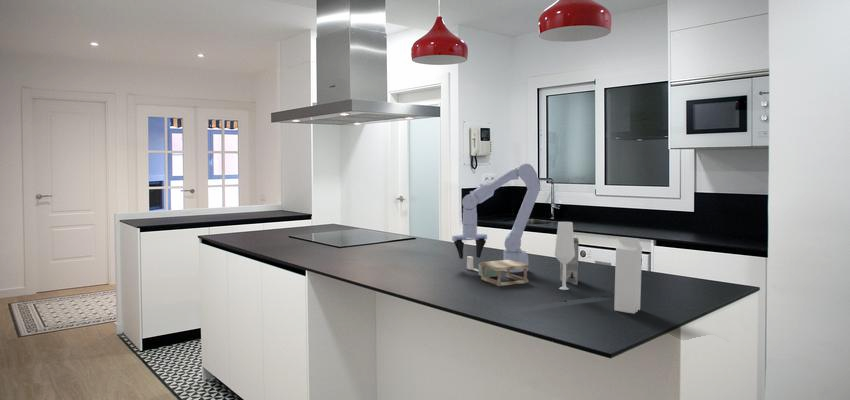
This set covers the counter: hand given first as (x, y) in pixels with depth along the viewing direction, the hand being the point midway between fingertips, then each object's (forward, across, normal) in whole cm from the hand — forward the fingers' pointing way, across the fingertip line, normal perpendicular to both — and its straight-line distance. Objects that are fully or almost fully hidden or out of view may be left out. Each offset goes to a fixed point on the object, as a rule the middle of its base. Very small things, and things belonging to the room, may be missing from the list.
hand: (469, 257), depth 230 cm
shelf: (+6, +2, -21) cm, 22 cm away
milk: (+6, +21, -69) cm, 73 cm away
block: (+5, +1, -8) cm, 9 cm away
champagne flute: (+6, +16, -43) cm, 46 cm away
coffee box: (+6, +27, -30) cm, 40 cm away
